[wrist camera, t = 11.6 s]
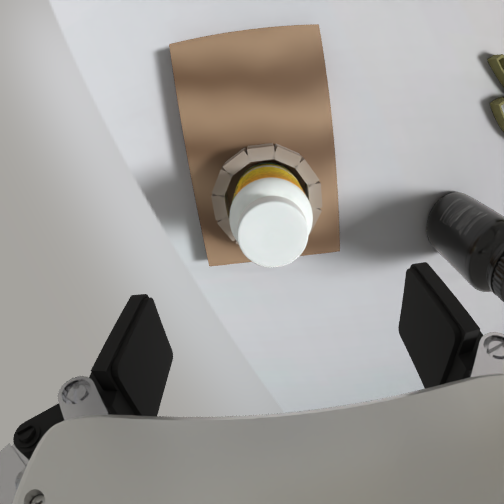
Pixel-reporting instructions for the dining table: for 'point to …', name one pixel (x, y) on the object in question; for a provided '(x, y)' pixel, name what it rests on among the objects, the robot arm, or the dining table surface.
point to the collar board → (256, 125)
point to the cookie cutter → (497, 66)
